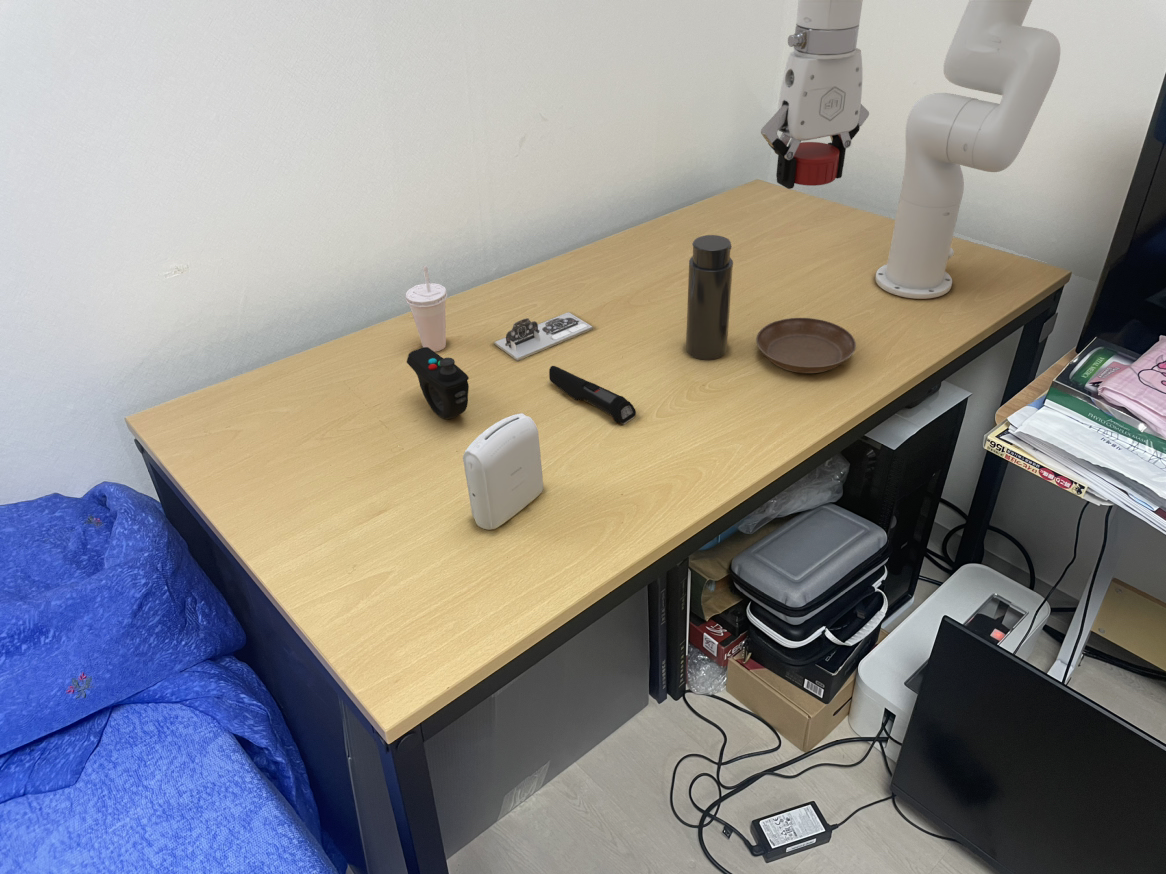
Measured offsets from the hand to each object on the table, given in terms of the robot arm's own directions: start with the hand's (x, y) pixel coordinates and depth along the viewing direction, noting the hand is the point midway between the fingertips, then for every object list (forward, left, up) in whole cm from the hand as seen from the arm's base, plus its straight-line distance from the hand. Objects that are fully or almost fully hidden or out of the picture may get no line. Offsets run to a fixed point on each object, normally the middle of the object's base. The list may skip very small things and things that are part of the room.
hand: (809, 179), depth 118 cm
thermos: (+7, -10, -28) cm, 30 cm away
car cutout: (+22, -32, -28) cm, 48 cm away
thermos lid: (0, 0, 0) cm, 0 cm away
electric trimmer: (+30, -13, -28) cm, 43 cm away
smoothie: (+36, -43, -28) cm, 63 cm away
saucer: (-1, +2, -28) cm, 28 cm away
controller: (+46, -27, -28) cm, 60 cm away
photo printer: (+53, -4, -28) cm, 60 cm away
